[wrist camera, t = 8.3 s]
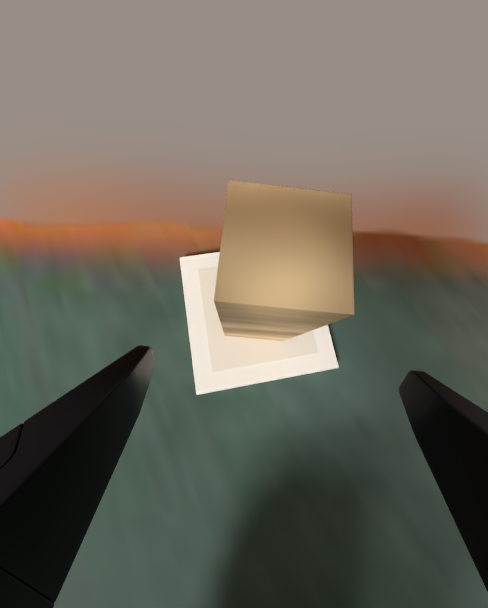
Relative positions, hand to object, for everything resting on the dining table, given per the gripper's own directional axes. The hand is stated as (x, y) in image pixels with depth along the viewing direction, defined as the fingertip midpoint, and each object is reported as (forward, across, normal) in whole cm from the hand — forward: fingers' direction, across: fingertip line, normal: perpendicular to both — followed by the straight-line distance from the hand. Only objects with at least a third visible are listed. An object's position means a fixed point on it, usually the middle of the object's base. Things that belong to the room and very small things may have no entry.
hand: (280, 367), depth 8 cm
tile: (+12, 0, +5) cm, 13 cm away
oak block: (+12, 0, +5) cm, 12 cm away
